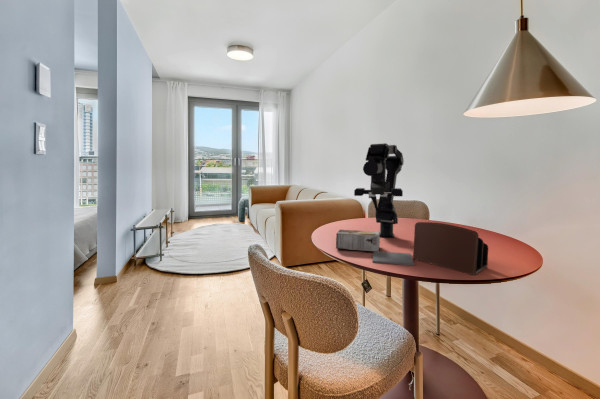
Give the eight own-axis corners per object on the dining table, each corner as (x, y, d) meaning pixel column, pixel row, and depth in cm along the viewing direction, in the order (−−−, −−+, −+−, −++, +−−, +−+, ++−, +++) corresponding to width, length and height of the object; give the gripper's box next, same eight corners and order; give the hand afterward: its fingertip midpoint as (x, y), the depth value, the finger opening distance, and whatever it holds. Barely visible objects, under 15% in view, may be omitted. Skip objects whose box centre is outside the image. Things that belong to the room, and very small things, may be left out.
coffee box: (379, 247, 113) (340, 244, 118) (380, 231, 113) (340, 229, 118) (378, 252, 104) (335, 248, 109) (378, 235, 104) (335, 232, 109)
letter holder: (475, 276, 83) (478, 229, 81) (412, 259, 98) (413, 219, 97) (487, 268, 89) (490, 224, 87) (426, 253, 104) (428, 216, 103)
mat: (373, 252, 106) (373, 251, 106) (410, 255, 102) (410, 253, 102) (372, 262, 95) (372, 260, 95) (413, 265, 92) (413, 263, 92)
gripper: (353, 176, 109) (352, 215, 111) (404, 175, 104) (403, 217, 106) (355, 174, 120) (355, 211, 122) (402, 174, 115) (401, 212, 117)
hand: (377, 212), depth 116 cm, fingers closed
